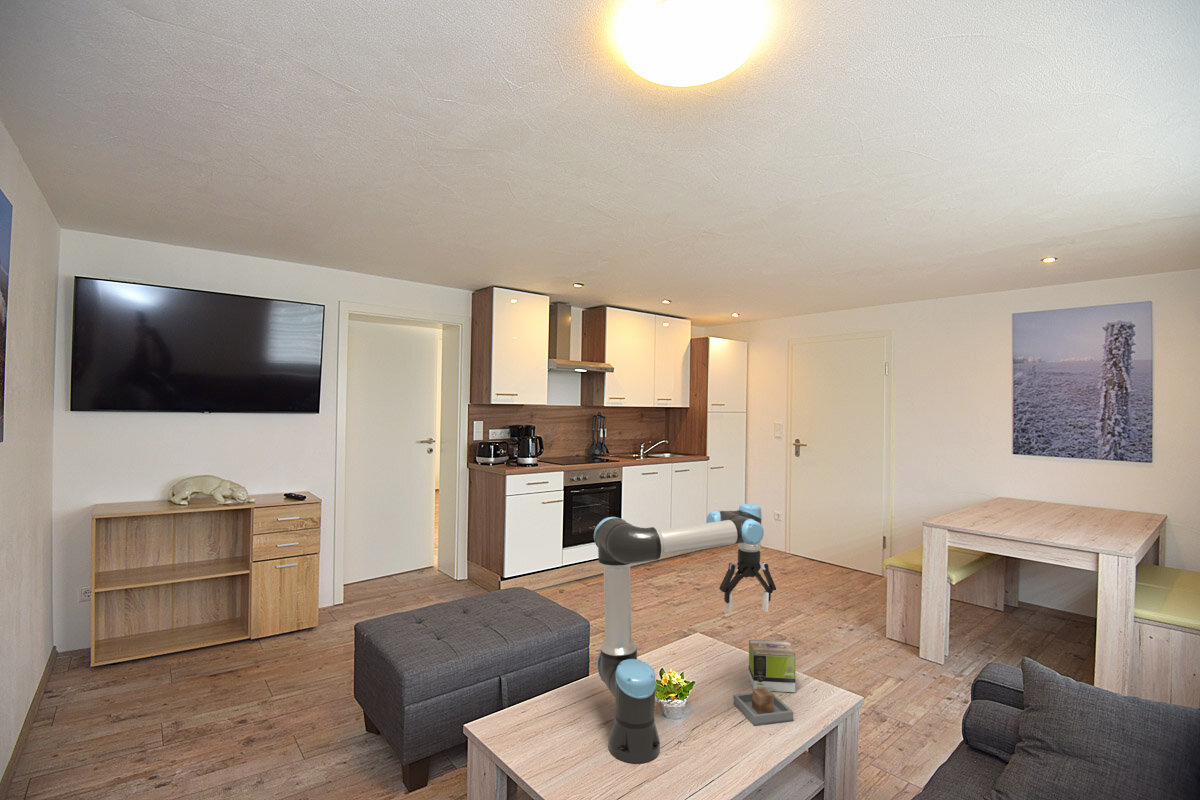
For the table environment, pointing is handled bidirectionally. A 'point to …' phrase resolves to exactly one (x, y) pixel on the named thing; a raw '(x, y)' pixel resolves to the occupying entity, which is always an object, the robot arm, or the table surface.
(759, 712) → the walnut block
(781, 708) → the tray
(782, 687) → the tea box
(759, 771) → the table surface
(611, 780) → the table surface
